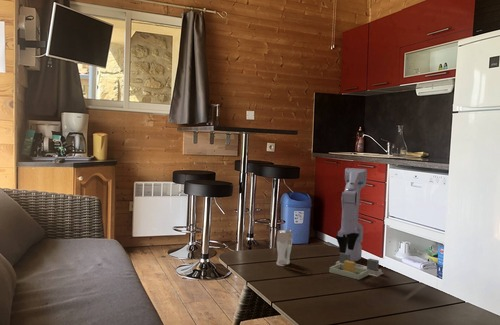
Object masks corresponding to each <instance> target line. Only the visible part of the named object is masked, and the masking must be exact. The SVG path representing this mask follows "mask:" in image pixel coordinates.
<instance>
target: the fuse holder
mask: <svg viewBox="0 0 500 325" xmlns="http://www.w3.org/2000/svg"><path fill="white" fill-rule="evenodd" d="M339 263H340V262H339V260H337V261H335V265H337V264H339ZM341 264H344V263H341ZM355 267H357V268H362V269H366V270H369V269H367V265H362V264H359V263H355ZM383 274H384V272H382V269H379V268H378V271H373V270H369V272H368V276H369V275H370V276H373V277H380V276H381V275H383Z"/></svg>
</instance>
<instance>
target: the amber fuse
mask: <svg viewBox="0 0 500 325" xmlns="http://www.w3.org/2000/svg"><path fill="white" fill-rule="evenodd" d="M355 264H356V261H348V260H346V261H344V267H343V269H342V270H344V271H348V272H352V273H356V272H355Z"/></svg>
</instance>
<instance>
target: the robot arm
mask: <svg viewBox="0 0 500 325" xmlns="http://www.w3.org/2000/svg"><path fill="white" fill-rule="evenodd" d="M367 178H368V170H367V168H353V167H352V168H351V167H346V168H345V169H344V181H345V187H344V191H342V193H341V199H340V200H341V209H342V210H341V222H340V224H341V227H340V229H339V231H337V234H336V235H335V239H336V241H337V244H338V251H339V253H347V254H350V261H352V262H358V261H359V260H361V259H362V253H363V252H362V251H363V245H362V242H363V238H364V226H363V225H362V224H361V223H360V222H359V212H360V211H359V209H360V195H361V191H362V188H364V187H366V185H367V180H368V179H367Z"/></svg>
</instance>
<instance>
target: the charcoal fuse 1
mask: <svg viewBox="0 0 500 325" xmlns="http://www.w3.org/2000/svg"><path fill="white" fill-rule="evenodd" d="M346 260H348V261H350V254H347V253H341V252H339V259H338V261H339V262H340V263H344V261H346Z"/></svg>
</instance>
